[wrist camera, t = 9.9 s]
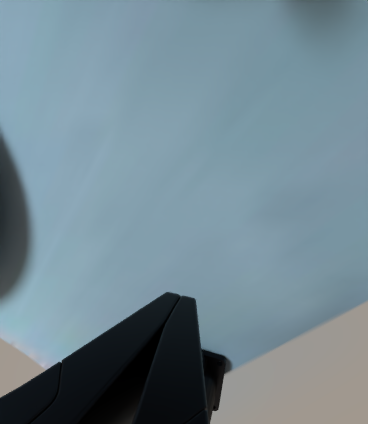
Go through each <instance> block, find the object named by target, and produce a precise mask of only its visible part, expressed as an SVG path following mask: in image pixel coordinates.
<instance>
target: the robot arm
mask: <svg viewBox="0 0 368 424" xmlns="http://www.w3.org/2000/svg"><path fill="white" fill-rule="evenodd" d="M219 361H220V362H219ZM225 366H226V359H225V358H224V357H223V356H221V355H217V354H214V353H210V352H207V351H203V350H201V344H200V334H199V325H198V316H197V306H196V300H195V298H191V297H187V296H180V295H179V294H175V293H171V292H166V293H164V294H163V295H161V296H160V297H158V298H157V299H155V300H154V301H152V302H150V303H149V304H147V305H146V306H144V307H143V308H141V309H140V310H138V311H137V312H135V313H134V314H132V315H131V316H129V317H127V318H126V319H124V320H123V321H121V322H120V323H118V324H117V325H115V326H114V327H112V328H111V329H109V330H107V331H106V332H104V333H103V334H101V335H100V336H98V337H97V338H95V339H94V340H92V341H91V342H89V343H88V344H86V345H84V346H83V347H81V348H80V349H78V350H77V351H75V352H74V353H72V354H71V355H69V356H68V357H66V358H64V359H63V360H62V363H61V362H58V363H57V364H55V365H53V366H52V367H50V368H49V369H47V370H46V371H45V372H43V373H41V374H39V375H38V376H36V377H35V378H33V379H31V380H30V381H28V382H27V383H25V384H23V385H22V386H20V387H18V388H17V389H15V390H13V391H11V392H9V393H8V394H6V395H4V396H2V397H1V398H0V424H210V420H211V415H212V411H217V410H218V408H219V402H220V396H221V390H222V384H223V378H224V372H225Z"/></svg>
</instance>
